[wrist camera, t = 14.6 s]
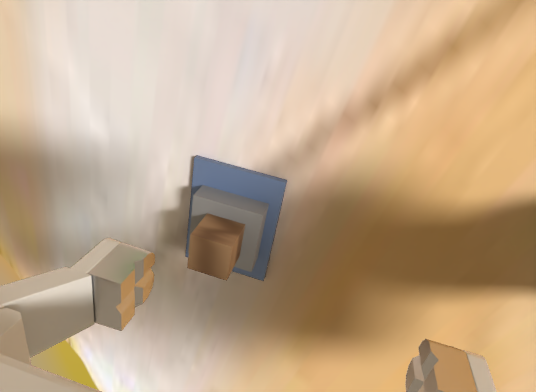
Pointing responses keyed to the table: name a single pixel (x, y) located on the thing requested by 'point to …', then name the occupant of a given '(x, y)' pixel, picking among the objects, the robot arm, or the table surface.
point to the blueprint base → (246, 189)
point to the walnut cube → (215, 246)
